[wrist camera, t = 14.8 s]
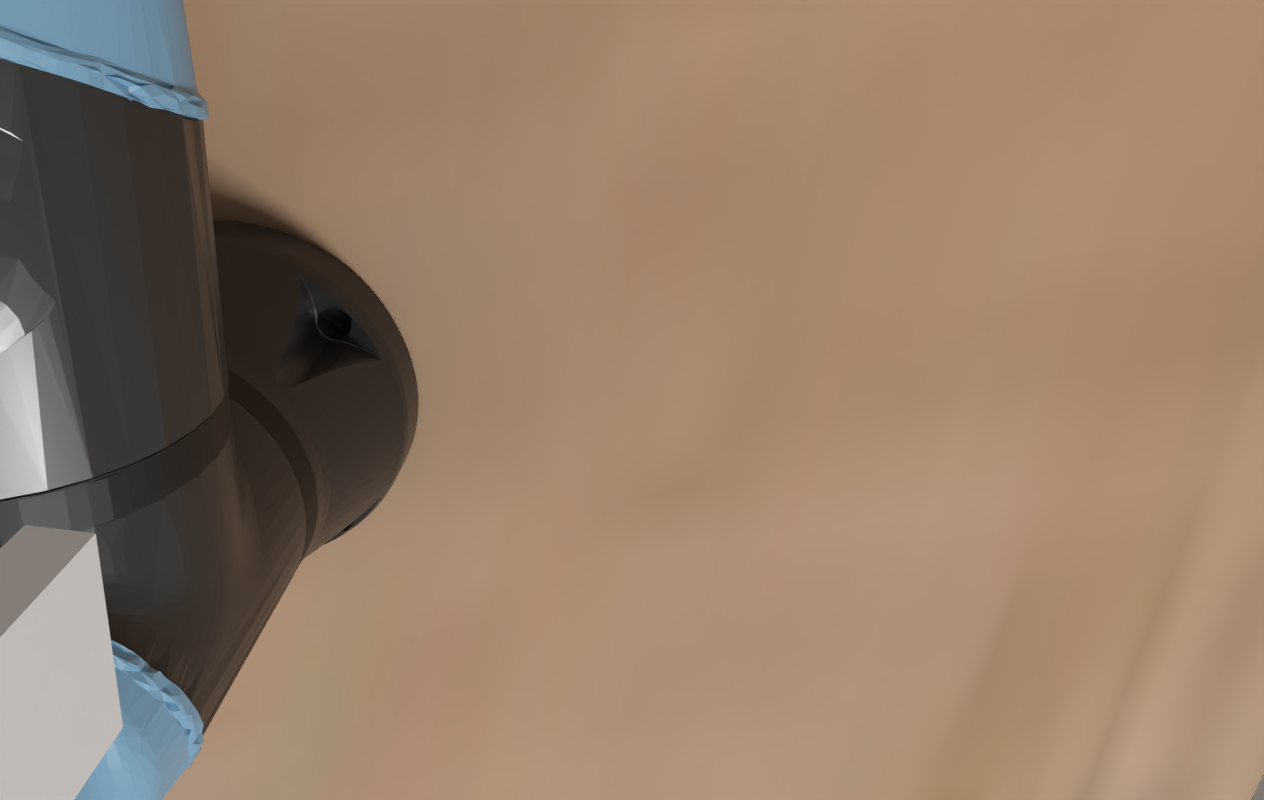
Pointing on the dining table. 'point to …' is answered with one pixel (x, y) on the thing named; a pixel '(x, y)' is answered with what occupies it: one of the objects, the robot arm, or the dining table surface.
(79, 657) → the robot arm
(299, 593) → the dining table surface
